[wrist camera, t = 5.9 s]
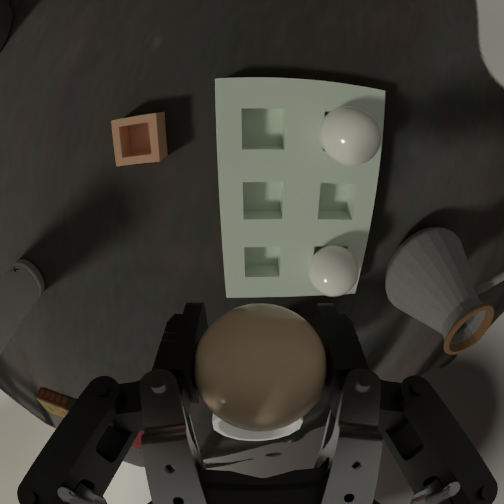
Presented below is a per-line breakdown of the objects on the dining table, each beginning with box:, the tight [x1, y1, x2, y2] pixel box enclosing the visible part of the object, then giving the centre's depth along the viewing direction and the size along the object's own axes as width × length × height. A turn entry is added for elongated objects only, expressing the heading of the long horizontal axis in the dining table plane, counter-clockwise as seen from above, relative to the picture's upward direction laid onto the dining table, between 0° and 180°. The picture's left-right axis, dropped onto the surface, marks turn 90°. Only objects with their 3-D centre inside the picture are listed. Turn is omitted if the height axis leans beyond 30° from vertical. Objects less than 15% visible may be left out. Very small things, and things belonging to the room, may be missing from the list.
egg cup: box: [111, 112, 168, 166], centre depth 21 cm, size 4×4×2 cm
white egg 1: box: [320, 106, 381, 166], centre depth 19 cm, size 5×5×5 cm
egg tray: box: [215, 77, 385, 298], centre depth 25 cm, size 21×14×2 cm, turn 0°
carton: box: [36, 387, 76, 418], centre depth 50 cm, size 8×16×4 cm, turn 85°
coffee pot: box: [385, 227, 504, 355], centre depth 21 cm, size 21×12×15 cm, turn 144°
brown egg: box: [194, 303, 327, 431], centre depth 9 cm, size 5×5×5 cm
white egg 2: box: [308, 245, 359, 297], centre depth 25 cm, size 5×5×5 cm
